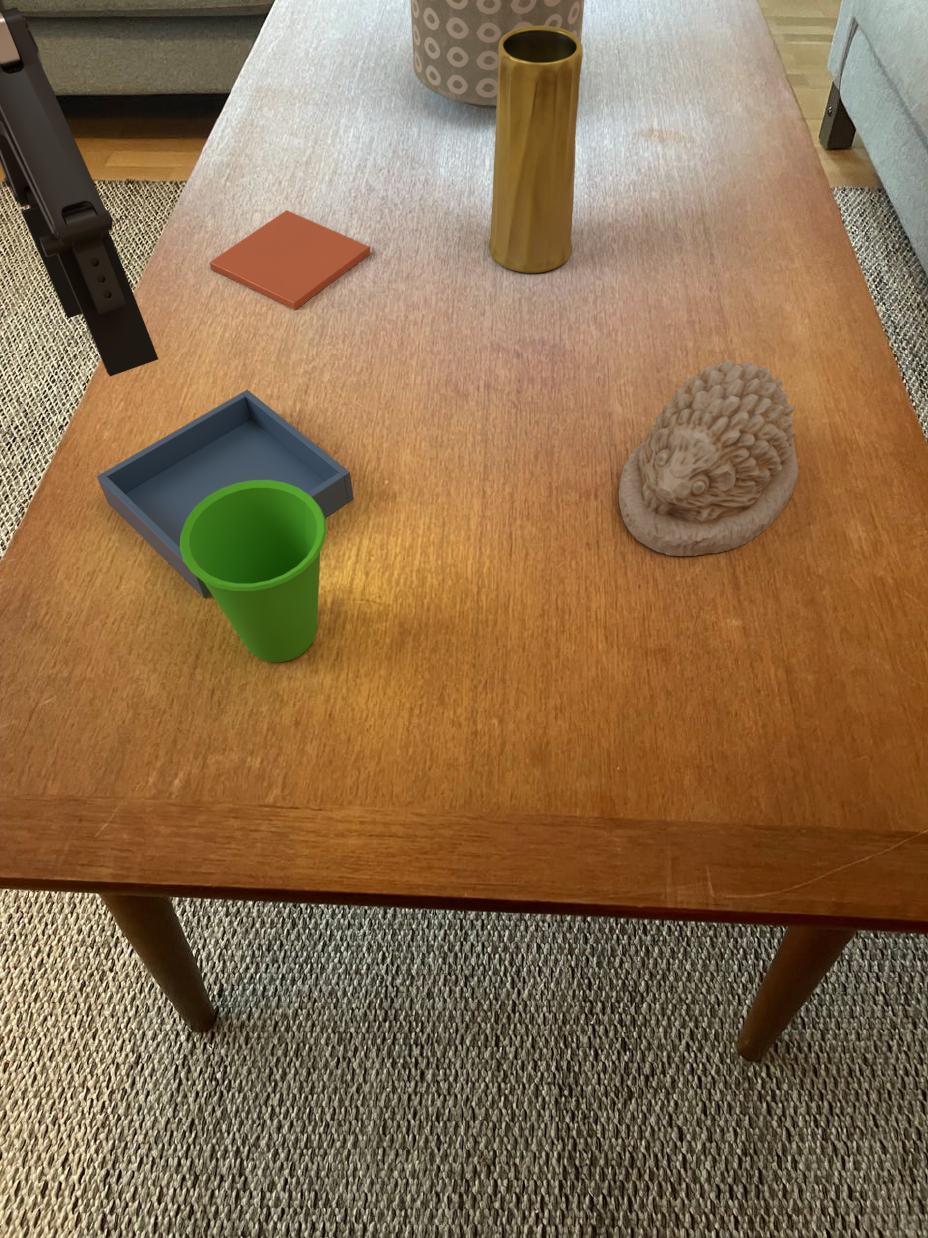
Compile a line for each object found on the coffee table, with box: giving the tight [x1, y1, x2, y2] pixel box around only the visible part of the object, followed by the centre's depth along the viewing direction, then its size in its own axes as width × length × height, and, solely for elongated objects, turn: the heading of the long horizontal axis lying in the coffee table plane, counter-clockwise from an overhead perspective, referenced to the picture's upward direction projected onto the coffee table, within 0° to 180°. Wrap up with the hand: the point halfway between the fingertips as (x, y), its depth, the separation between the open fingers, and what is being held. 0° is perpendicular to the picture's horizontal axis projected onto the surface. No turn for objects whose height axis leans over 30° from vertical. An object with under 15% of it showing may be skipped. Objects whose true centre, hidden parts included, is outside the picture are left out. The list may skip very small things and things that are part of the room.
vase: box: [488, 26, 584, 274], centre depth 89 cm, size 8×8×19 cm
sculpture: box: [618, 359, 800, 557], centre depth 74 cm, size 12×17×10 cm
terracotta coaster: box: [209, 209, 371, 310], centre depth 96 cm, size 11×11×1 cm
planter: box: [410, 0, 585, 110], centre depth 109 cm, size 19×19×18 cm
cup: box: [180, 480, 327, 663], centre depth 66 cm, size 9×9×11 cm
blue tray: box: [96, 389, 355, 599], centre depth 76 cm, size 14×13×3 cm
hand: (108, 336), depth 58 cm, fingers open, 13 cm apart
